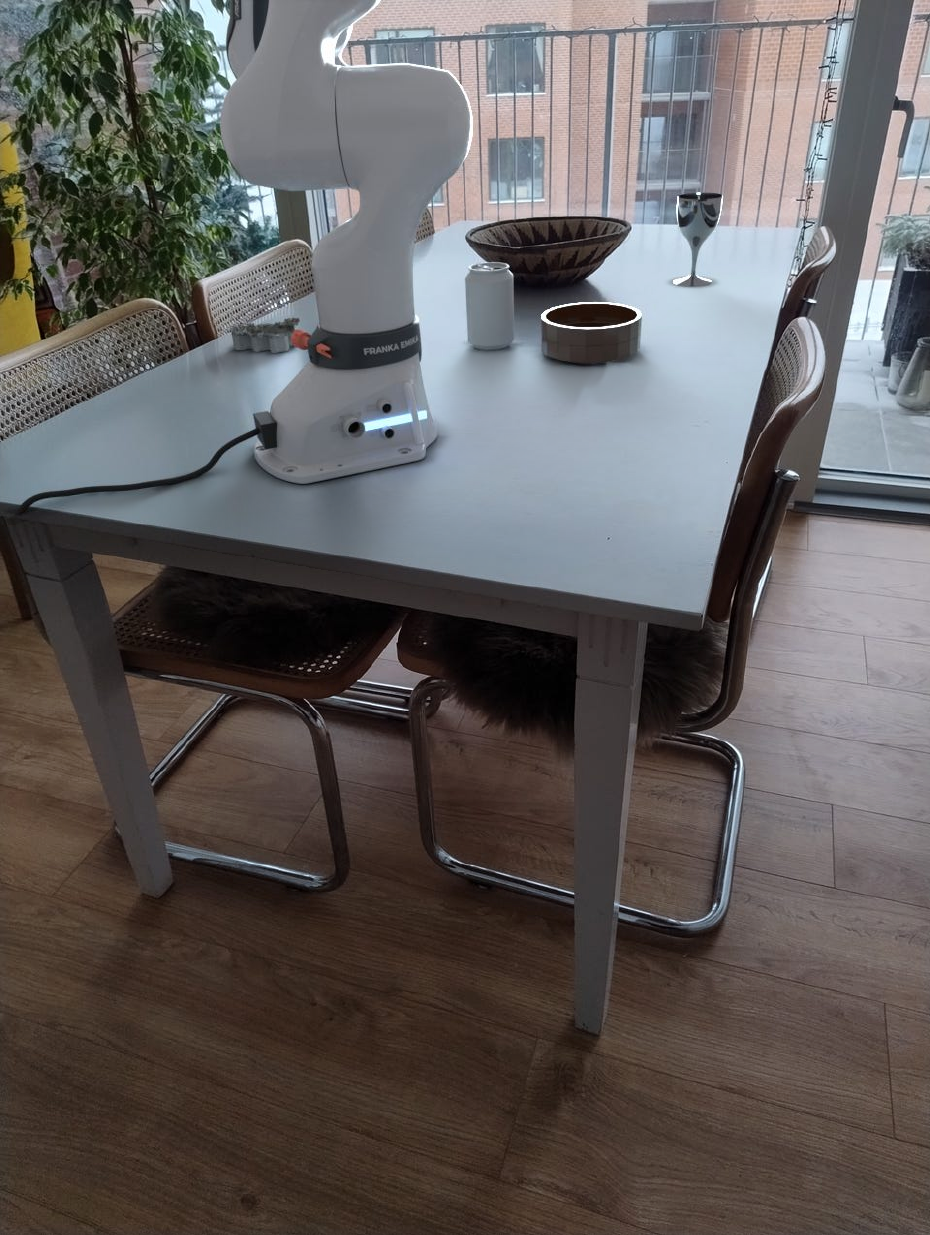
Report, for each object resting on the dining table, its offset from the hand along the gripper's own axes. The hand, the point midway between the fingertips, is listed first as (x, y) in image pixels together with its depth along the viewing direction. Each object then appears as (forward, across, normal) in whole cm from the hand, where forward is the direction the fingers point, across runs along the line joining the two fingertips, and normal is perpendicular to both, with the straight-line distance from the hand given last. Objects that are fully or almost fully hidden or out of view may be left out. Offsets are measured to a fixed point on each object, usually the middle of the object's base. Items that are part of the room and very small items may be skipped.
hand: (409, 181), depth 130 cm
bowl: (+37, 0, -4) cm, 37 cm away
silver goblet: (+42, +47, -8) cm, 63 cm away
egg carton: (0, -10, +34) cm, 35 cm away
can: (+26, 0, +8) cm, 27 cm away
